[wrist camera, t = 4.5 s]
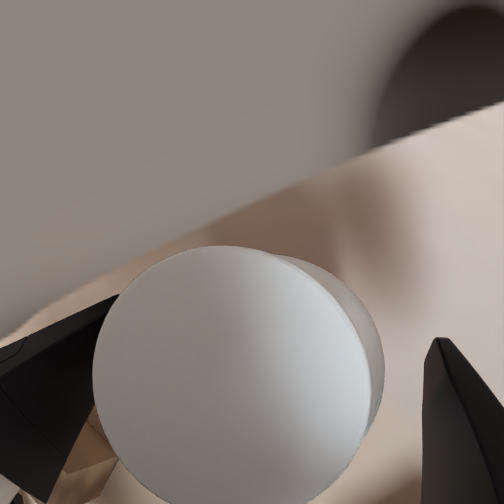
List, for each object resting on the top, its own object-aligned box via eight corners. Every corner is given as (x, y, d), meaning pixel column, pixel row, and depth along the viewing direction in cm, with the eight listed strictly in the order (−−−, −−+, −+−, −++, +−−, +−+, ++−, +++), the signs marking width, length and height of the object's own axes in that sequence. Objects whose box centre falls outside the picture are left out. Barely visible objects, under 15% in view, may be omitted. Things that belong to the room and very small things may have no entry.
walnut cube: (98, 496, 14) (49, 517, 10) (53, 448, 16) (2, 458, 11) (122, 454, 15) (67, 474, 10) (71, 403, 17) (14, 408, 12)
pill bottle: (208, 376, 15) (29, 402, 5) (271, 274, 16) (167, 150, 6) (310, 441, 13) (267, 596, 3) (379, 335, 14) (490, 313, 4)
